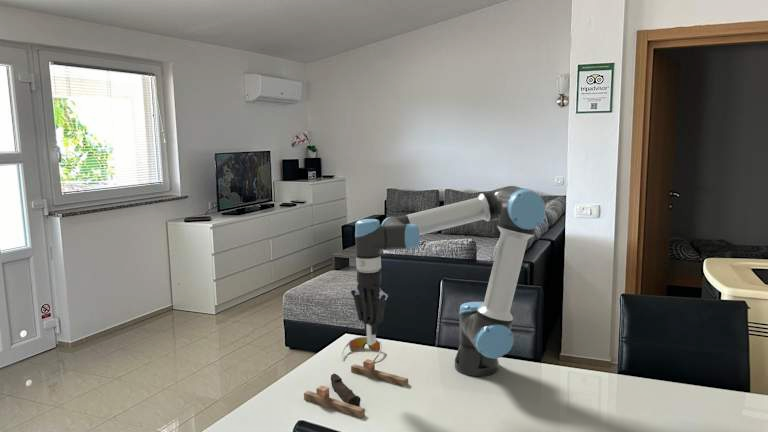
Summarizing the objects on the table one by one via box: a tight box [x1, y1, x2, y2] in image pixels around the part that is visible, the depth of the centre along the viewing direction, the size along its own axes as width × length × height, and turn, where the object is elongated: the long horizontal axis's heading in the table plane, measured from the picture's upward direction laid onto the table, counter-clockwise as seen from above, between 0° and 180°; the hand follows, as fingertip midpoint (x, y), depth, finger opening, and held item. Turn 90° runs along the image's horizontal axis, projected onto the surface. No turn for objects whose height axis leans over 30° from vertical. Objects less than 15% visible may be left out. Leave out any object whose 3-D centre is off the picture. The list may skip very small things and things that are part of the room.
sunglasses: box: [341, 335, 383, 363], centre depth 212 cm, size 14×15×5 cm
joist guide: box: [303, 358, 409, 419], centre depth 182 cm, size 22×26×5 cm
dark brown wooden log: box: [330, 373, 362, 407], centre depth 180 cm, size 19×4×5 cm, turn 24°
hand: (371, 343), depth 179 cm, fingers closed
